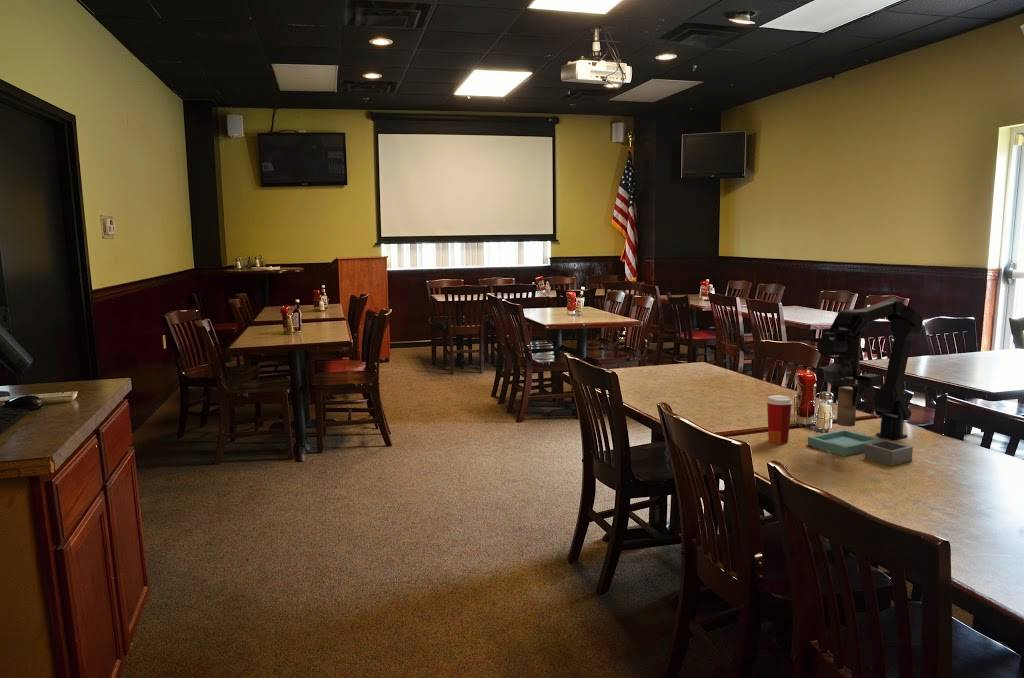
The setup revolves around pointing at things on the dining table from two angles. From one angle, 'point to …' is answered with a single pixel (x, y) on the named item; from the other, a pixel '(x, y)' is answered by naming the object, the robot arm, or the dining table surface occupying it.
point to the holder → (888, 452)
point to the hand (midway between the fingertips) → (846, 404)
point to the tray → (841, 442)
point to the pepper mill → (845, 407)
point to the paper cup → (778, 418)
